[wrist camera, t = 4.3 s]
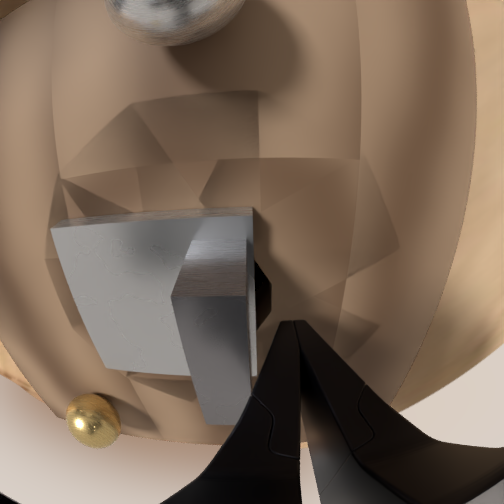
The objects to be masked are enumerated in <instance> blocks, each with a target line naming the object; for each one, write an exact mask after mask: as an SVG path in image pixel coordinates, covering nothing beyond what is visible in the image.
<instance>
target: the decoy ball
mask: <svg viewBox="0 0 504 504" xmlns="http://www.w3.org/2000/svg"><path fill="white" fill-rule="evenodd" d="M66 423H67V426H68V429H69V430H70V432H71V434H72V435H73V436H74V437H75V439H76V440H78V441H79V442H80V443H82V444H83V445H85V446H88V447H91V448H105V447H108V446H110V445H112V444H113V443H114V442H115V441H116V440H117V439H118V437H119V435H120V432H121V419H120V416H119V414H118V412H117V410H116V408H115V407H114V406H113V405H112V403H110V402H109V401H108V400H107V399H105V398H104V397H102V396H99V395H96V394H90V393H89V394H82V395H79V396H77V397H75V398H74V399H73V400H72V401H71V402H70V403H69V405H68V407H67V410H66Z"/></svg>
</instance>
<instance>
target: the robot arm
mask: <svg viewBox="0 0 504 504" xmlns="http://www.w3.org/2000/svg"><path fill="white" fill-rule="evenodd" d="M365 384H366V383H365V381H364V380H363V379H362V378H361V377H360V376H359V375H358V374H357V373H356V372H355V371H354V370H353V369H352V368H351V367H350V366H349V365H348V364H347V363H346V362H345V361H344V360H343V359H342V358H341V357H340V356H339V355H338V354H337V352H336V351H335V350H334V349H333V348H332V347H331V346H330V345H329V344H328V343H327V342H326V341H325V340H324V339H323V338H322V337H321V336H320V335H319V334H318V333H317V332H316V331H315V330H314V329H313V327H312V326H311V325H310V324H309V323H308V322H307V321H306V320H304V319H301V320H293V321H292V320H284V321H280V323H279V326H278V328H277V331H276V333H275V336H274V338H273V341H272V344H271V346H270V349H269V351H268V354H267V356H266V359H265V361H264V364H263V366H262V368H261V371H260V373H259V376H258V378H257V381H256V383H255V385H254V388H253V390H252V392H251V396H250V397H249V399H248V401H247V404H246V406H245V408H244V410H243V412H242V414H241V416H240V418H239V420H238V422H237V423H236V425H235V427H234V428H233V430H232V432H231V433H230V435H229V436H228V438H227V439H226V441H225V442H224V444H223V445H222V446H221V448H220V450H219V451H218V452H217V454H216V455H215V457H214V458H213V460H212V461H211V462H210V464H209V465H208V466H207V467H206V469H205V470H204V471H203V472H202V473H201V474H200V475H199V476H198V477H197V478H196V479H195V480H193V481H192V482H191V483H189V484H188V485H187V486H185V487H184V488H182V489H181V490H179V491H178V492H177V493H175V494H174V495H172V496H171V497H169V498H168V499H166V500H165V501H163V502H162V503H160V504H302V497H301V486H300V461H299V460H300V437H301V416H302V420H303V424H304V429H305V433H306V438H307V442H308V447H309V451H310V456H311V460H312V465H313V469H314V474H315V478H316V483H317V488H318V492H319V495H320V496H319V497H320V502H321V504H504V447H501V448H488V447H477V446H468V445H460V444H453V443H447V442H441V441H438V440H436V439H433V438H431V437H429V436H428V435H426V434H425V433H423V432H422V431H421V430H420V429H418V428H417V427H416V426H414V425H413V424H412V423H411V422H409V421H408V420H407V419H405V418H404V417H403V416H401V415H400V414H399V413H398V412H397V411H395V410H394V409H393V408H392V407H391V406H389V405H388V404H387V403H386V402H385V401H384V400H383V399H382V398H381V397H380V396H378V395H377V394H376V393H375V392H374V391H373V390H372V389H371V388H370V387H369V385H368V384H366V385H365ZM0 504H20V503H18V502H17V501H15V500H13V499H11V498H10V497H8V496H6V495H4V494H3V493H1V492H0Z"/></svg>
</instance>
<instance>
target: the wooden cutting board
mask: <svg viewBox="0 0 504 504" xmlns="http://www.w3.org/2000/svg"><path fill="white" fill-rule="evenodd" d="M476 114H477V88H476V67H475V55H474V46H473V38H472V31H471V24H470V19H469V13H468V8H467V3H466V0H245V3H244V4H243V6H242V8H241V9H240V11H239V12H238V14H237V15H236V16H235V17H234V18H233V19H232V20H231V21H230V22H229V23H228V24H227V25H226V26H225V27H223V28H222V29H221V30H219V31H217V32H216V33H214V34H212V35H210V36H208V37H207V38H204V39H202V40H199V41H196V42H193V43H190V44H185V45H180V46H155V45H149V44H145V43H142V42H139V41H136V40H134V39H132V38H130V37H128V36H127V35H125V34H124V33H123V32H121V31H120V30H119V29H118V28H117V27H116V26H115V25H114V23H113V22H112V21H111V19H110V17H109V16H108V13H107V10H106V7H105V1H104V0H29V1H28V2H26V3H25V4H23V5H21V6H20V7H18V8H17V9H15V10H14V11H12V12H11V13H9V14H8V15H6V16H5V17H4V18H2V19H1V20H0V340H1V342H2V343H3V345H4V347H5V348H6V350H7V351H8V353H9V355H10V356H11V358H12V359H13V361H14V362H15V364H16V365H17V367H18V368H19V369H20V371H21V372H22V374H23V375H24V376H25V378H26V379H27V380H28V382H29V383H30V384H31V386H32V387H33V388H34V390H35V391H36V392H37V393H38V395H39V396H40V397H41V398H42V400H43V401H44V402H45V403H46V405H47V406H48V407H49V408H50V409H51V410H52V412H53V413H54V414H55V415H56V416H57V417H59V418H62V419H65V420H66V410H67V407H68V405H69V403H70V402H71V401H72V400H73V399H74V398H75V397H77V396H79V395H82V394H89V393H90V394H96V395H99V396H102V397H104V398H105V399H107V400H108V401H109V402H110V403H112V405H113V406H114V407H115V408H116V410H117V412H118V414H119V416H120V419H121V432H120V434H125V435H130V436H136V437H142V438H149V439H155V440H163V441H171V442H181V443H193V444H208V445H223V444H224V442H225V441H226V439H227V438H228V436H229V435H230V433H231V432H232V430H233V428H234V427H235V425H210V424H206V422H205V419H204V416H203V413H202V410H201V407H200V404H199V401H198V398H197V395H196V391H195V388H194V385H193V382H192V378H191V376H185V375H168V374H154V373H143V372H133V371H124V370H116V369H108V368H106V367H105V365H104V363H103V361H102V359H101V357H100V355H99V353H98V352H97V350H96V348H95V346H94V343H93V341H92V339H91V337H90V335H89V333H88V331H87V329H86V326H85V324H84V322H83V320H82V318H81V315H80V313H79V311H78V308H77V306H76V303H75V301H74V298H73V296H72V293H71V291H70V288H69V285H68V283H67V280H66V277H65V274H64V272H63V269H62V266H61V263H60V260H59V257H58V254H57V250H56V247H55V244H54V240H53V237H52V233H51V230H50V229H51V228H52V227H53V226H54V225H56V224H57V223H58V222H60V221H61V220H67V219H76V218H85V217H95V216H105V215H117V214H128V213H141V212H154V211H169V210H185V209H204V208H226V207H252V213H253V246H254V259H255V261H256V262H257V264H258V265H259V267H260V268H261V269H262V271H263V272H264V274H265V275H266V277H267V278H266V279H265V281H264V282H263V284H262V285H261V287H260V288H259V290H258V291H257V293H256V294H255V316H256V352H257V376H252V390H253V388H254V385H255V383H256V381H257V378H258V376H259V373H260V371H261V368H262V366H263V364H264V361H265V359H266V356H267V354H268V351H269V349H270V346H271V344H272V341H273V338H274V336H275V333H276V331H277V328H278V326H279V323H280V321H284V320H292V321H293V320H301V319H304V320H306V321H307V322H308V323H309V324H310V325H311V326H312V327H313V329H314V330H315V331H316V332H317V333H318V334H319V335H320V336H321V337H322V338H323V339H324V340H325V341H326V342H327V343H328V344H329V345H330V346H331V347H332V348H333V349H334V350H335V351H336V352H337V354H338V355H339V356H340V357H341V358H342V359H343V360H344V361H345V362H346V363H347V364H348V365H349V366H350V367H351V368H352V369H353V370H354V371H355V372H356V373H357V374H358V375H359V376H360V377H361V378H362V379H363V380H364V381H365V383H366V384H368V385H369V387H370V388H371V389H372V390H373V391H374V392H375V393H376V394H377V395H378V396H380V397H381V398H382V399H383V400H384V401H385V402H386V403H387V404H388V405H389V406H390V404H391V402H392V401H393V399H394V397H395V395H396V394H397V392H398V390H399V388H400V387H401V385H402V383H403V381H404V379H405V377H406V375H407V374H408V372H409V370H410V368H411V366H412V364H413V362H414V360H415V358H416V356H417V353H418V351H419V349H420V347H421V345H422V343H423V340H424V338H425V336H426V334H427V331H428V329H429V327H430V324H431V322H432V319H433V317H434V314H435V312H436V309H437V307H438V304H439V301H440V299H441V296H442V293H443V290H444V287H445V284H446V281H447V278H448V275H449V272H450V269H451V266H452V262H453V259H454V255H455V252H456V248H457V244H458V241H459V237H460V233H461V228H462V224H463V220H464V215H465V210H466V205H467V200H468V194H469V188H470V182H471V175H472V167H473V159H474V149H475V136H476ZM366 384H365V385H366ZM300 442H307V438H306V433H305V429H304V424H303V420H302V416H301V437H300Z"/></svg>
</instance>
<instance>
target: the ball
mask: <svg viewBox="0 0 504 504" xmlns="http://www.w3.org/2000/svg"><path fill="white" fill-rule="evenodd" d="M104 1H105V7H106V10H107V13H108V16H109V17H110V19H111V21H112V22H113V23H114V25H115V26H116V27H117V28H118V29H119V30H120V31H121V32H123V33H124V34H125V35H127V36H128V37H130V38H132V39H134V40H136V41H139V42H142V43H145V44H149V45H155V46H180V45H185V44H190V43H193V42H196V41H199V40H202V39H204V38H207V37H208V36H210V35H212V34H214V33H216V32H217V31H219V30H221V29H222V28H223V27H225V26H226V25H227V24H228V23H229V22H230V21H231V20H232V19H233V18H234V17H235V16H236V15H237V14H238V12H239V11H240V9H241V8H242V6H243V4H244V3H245V0H104Z"/></svg>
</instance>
